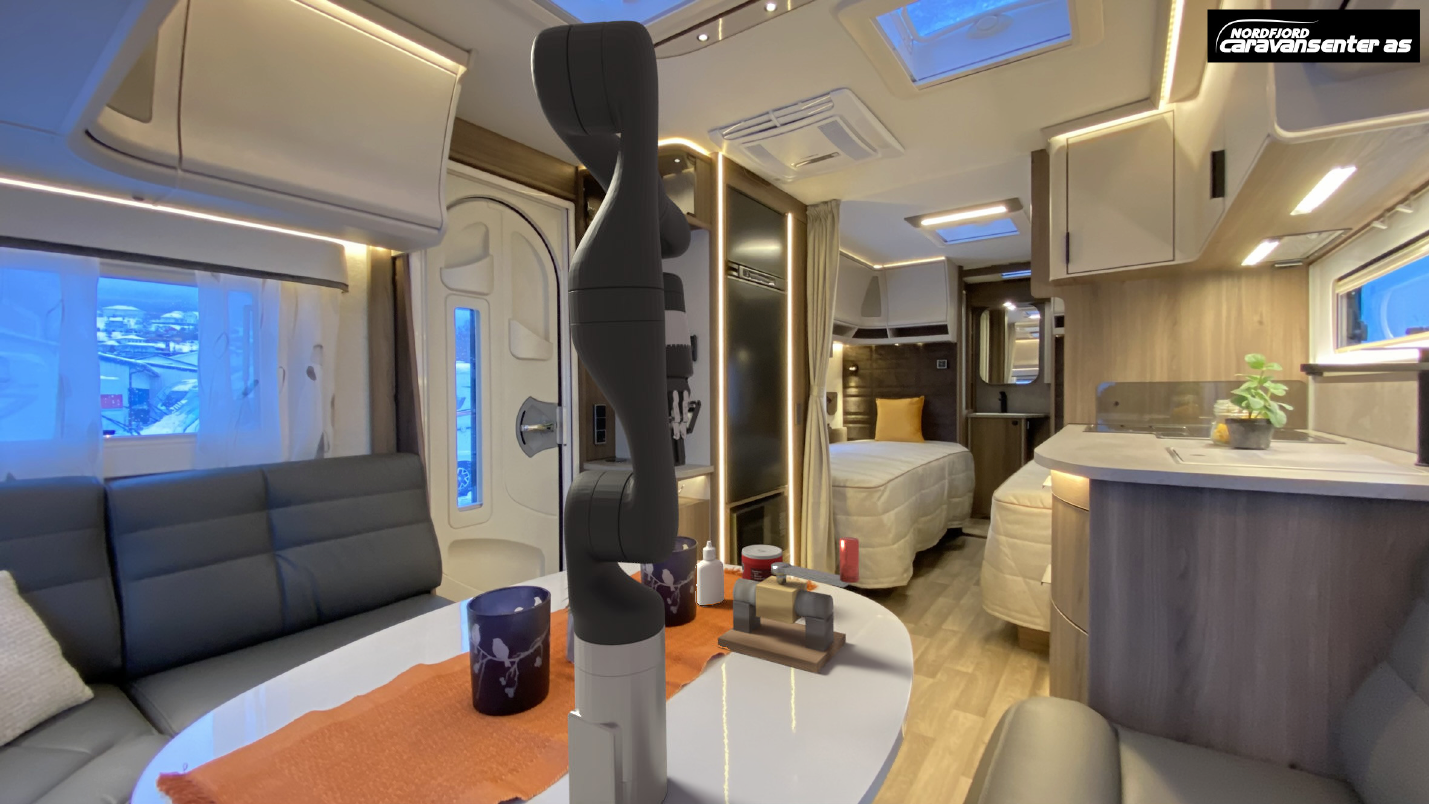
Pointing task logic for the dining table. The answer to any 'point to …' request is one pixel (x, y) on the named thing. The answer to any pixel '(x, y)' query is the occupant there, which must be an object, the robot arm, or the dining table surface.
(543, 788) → the dining table surface
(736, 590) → the valve stand
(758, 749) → the dining table surface
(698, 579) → the eye dropper bottle
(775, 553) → the canned food
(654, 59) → the robot arm
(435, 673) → the dining table surface
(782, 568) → the valve lever
